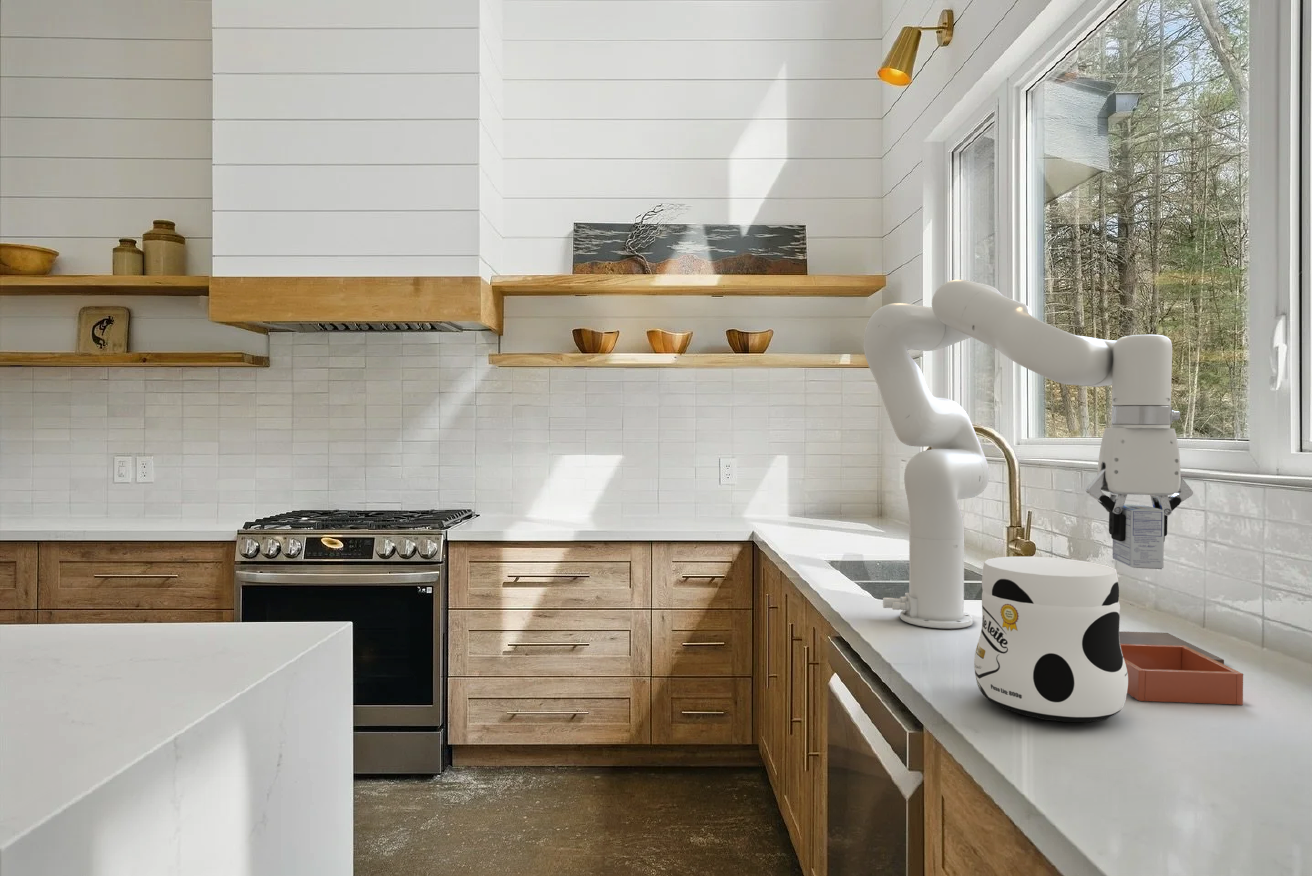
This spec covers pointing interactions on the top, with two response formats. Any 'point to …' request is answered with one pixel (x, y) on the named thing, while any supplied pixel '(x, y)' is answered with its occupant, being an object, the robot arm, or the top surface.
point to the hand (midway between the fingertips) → (1137, 539)
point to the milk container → (1051, 638)
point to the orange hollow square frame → (1179, 675)
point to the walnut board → (1160, 641)
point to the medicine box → (1141, 538)
